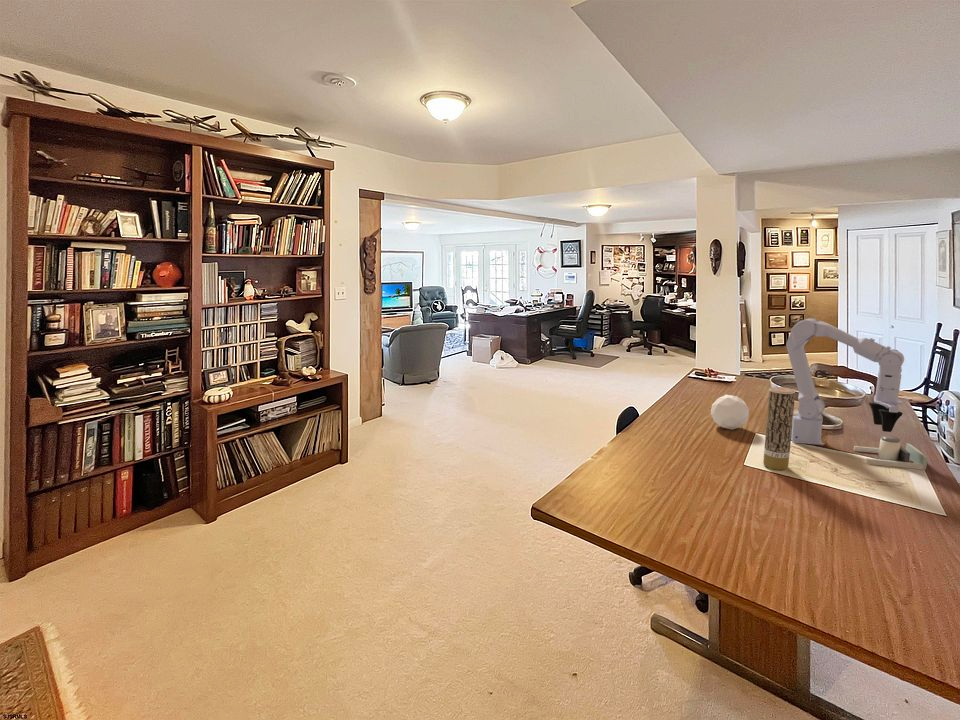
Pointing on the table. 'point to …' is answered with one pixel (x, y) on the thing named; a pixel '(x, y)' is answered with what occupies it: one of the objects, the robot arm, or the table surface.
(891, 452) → the jar
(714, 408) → the geodesic sphere
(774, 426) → the paper tube
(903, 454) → the pusher plate
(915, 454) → the lane
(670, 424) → the table surface
